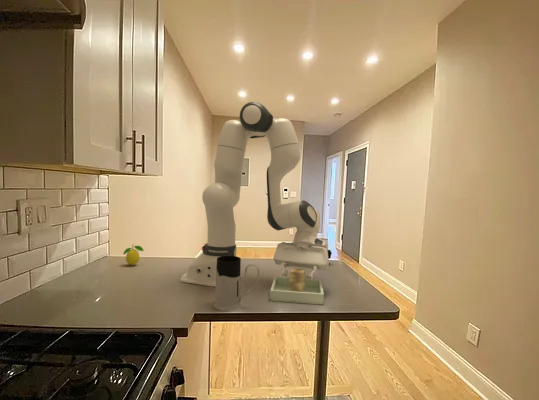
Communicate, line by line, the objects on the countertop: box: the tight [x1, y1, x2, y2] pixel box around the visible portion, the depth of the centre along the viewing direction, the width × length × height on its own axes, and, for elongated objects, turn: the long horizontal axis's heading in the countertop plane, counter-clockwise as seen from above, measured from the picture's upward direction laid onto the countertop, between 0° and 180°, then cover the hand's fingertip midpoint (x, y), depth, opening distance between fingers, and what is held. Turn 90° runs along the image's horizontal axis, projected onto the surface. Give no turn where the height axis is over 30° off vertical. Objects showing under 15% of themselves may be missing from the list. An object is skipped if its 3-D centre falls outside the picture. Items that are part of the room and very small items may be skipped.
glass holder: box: [213, 255, 260, 312], centre depth 95 cm, size 9×14×15 cm, turn 82°
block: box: [289, 267, 306, 292], centre depth 107 cm, size 4×4×8 cm
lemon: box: [122, 244, 145, 267], centre depth 137 cm, size 7×6×10 cm
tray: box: [269, 276, 325, 306], centre depth 107 cm, size 18×16×4 cm
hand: (297, 276), depth 106 cm, fingers open, 8 cm apart
